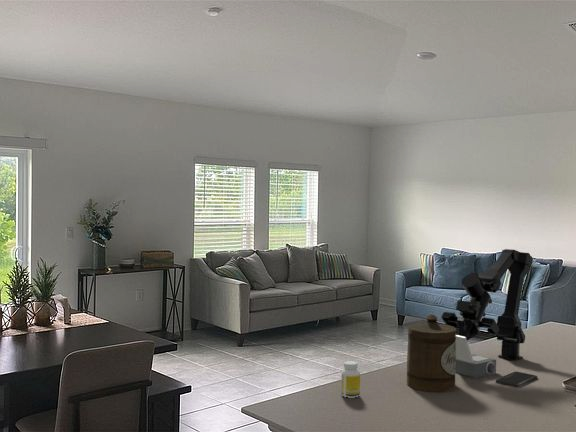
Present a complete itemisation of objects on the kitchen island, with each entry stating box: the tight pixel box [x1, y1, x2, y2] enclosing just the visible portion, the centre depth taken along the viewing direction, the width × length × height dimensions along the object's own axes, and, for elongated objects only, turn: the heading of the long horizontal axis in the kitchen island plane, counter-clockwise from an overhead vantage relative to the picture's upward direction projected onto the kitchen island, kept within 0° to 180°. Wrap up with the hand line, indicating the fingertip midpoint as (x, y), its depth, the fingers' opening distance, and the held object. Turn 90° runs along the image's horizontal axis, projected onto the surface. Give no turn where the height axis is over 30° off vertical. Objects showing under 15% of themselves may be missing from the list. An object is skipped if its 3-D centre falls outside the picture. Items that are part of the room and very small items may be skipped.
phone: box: [495, 371, 538, 388], centre depth 199 cm, size 8×1×15 cm
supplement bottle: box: [340, 360, 361, 399], centre depth 182 cm, size 5×5×10 cm
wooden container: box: [406, 314, 457, 393], centre depth 193 cm, size 15×15×22 cm
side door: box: [456, 334, 474, 364], centre depth 203 cm, size 10×8×1 cm
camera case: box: [455, 353, 497, 379], centre depth 207 cm, size 11×9×5 cm
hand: (460, 343), depth 202 cm, fingers closed, pressing on side door
